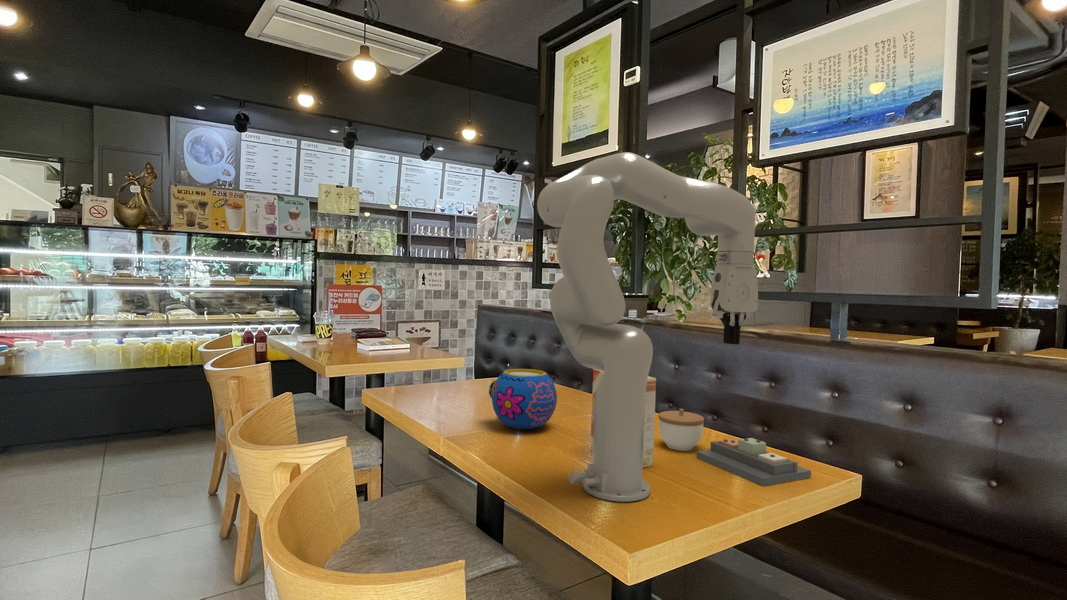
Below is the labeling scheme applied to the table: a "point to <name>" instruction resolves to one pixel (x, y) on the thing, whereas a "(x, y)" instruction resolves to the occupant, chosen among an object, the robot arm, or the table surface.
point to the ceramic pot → (523, 398)
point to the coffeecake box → (648, 416)
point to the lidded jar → (680, 429)
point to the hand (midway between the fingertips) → (731, 343)
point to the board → (752, 465)
